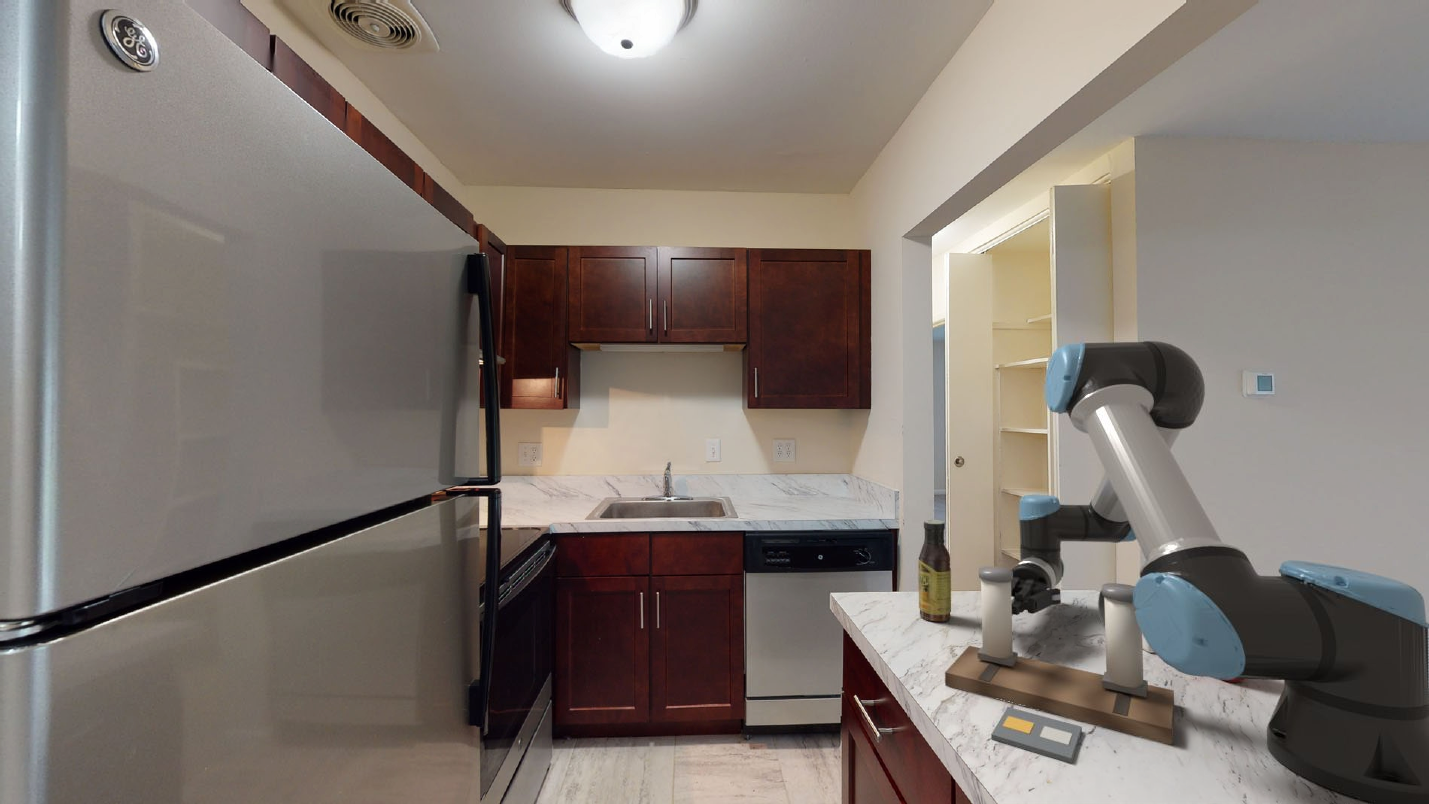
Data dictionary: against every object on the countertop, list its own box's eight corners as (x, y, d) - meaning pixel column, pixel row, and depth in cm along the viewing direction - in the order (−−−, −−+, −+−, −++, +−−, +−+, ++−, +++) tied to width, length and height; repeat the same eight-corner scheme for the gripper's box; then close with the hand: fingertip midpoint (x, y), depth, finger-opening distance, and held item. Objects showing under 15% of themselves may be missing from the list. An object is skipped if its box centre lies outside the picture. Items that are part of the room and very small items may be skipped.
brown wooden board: (1174, 704, 86) (1173, 689, 86) (1172, 745, 76) (1171, 728, 76) (969, 657, 103) (969, 645, 103) (945, 685, 93) (945, 671, 93)
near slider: (1148, 685, 87) (1145, 587, 87) (1146, 699, 83) (1143, 595, 83) (1105, 676, 90) (1102, 581, 90) (1101, 689, 86) (1098, 589, 86)
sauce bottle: (915, 612, 126) (913, 517, 127) (946, 612, 126) (944, 517, 126) (923, 623, 120) (921, 523, 120) (956, 624, 119) (953, 523, 120)
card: (1081, 731, 79) (1081, 725, 79) (1071, 763, 72) (1071, 757, 72) (1007, 710, 85) (1007, 705, 85) (991, 738, 78) (991, 733, 78)
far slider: (1018, 657, 97) (1016, 569, 97) (1011, 668, 93) (1009, 576, 94) (984, 650, 101) (982, 564, 101) (976, 660, 97) (974, 571, 97)
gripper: (1069, 606, 115) (1045, 645, 96) (995, 594, 123) (960, 628, 104) (1068, 567, 115) (1044, 598, 96) (994, 557, 123) (959, 585, 105)
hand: (1000, 614), depth 100 cm, fingers closed
